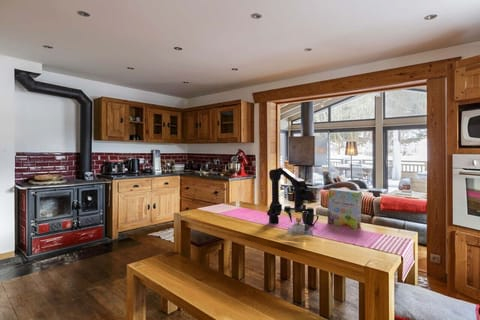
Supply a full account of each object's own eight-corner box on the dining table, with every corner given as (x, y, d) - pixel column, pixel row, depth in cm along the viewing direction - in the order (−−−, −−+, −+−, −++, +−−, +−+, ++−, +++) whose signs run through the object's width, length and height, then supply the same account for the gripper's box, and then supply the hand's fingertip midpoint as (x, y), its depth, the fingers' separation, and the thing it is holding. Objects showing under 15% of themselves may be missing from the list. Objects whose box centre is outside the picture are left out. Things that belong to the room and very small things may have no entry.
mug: (314, 229, 184) (314, 215, 184) (299, 225, 193) (299, 212, 193) (320, 227, 190) (321, 213, 190) (305, 223, 199) (306, 210, 198)
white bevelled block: (292, 232, 173) (292, 224, 173) (292, 229, 180) (292, 221, 180) (308, 233, 171) (308, 225, 170) (307, 230, 178) (307, 222, 178)
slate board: (286, 234, 171) (287, 233, 171) (287, 229, 184) (287, 227, 184) (313, 236, 167) (313, 235, 167) (312, 230, 180) (312, 229, 180)
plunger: (294, 231, 174) (294, 218, 173) (294, 229, 179) (294, 216, 178) (302, 231, 173) (302, 219, 172) (302, 229, 178) (302, 217, 177)
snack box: (326, 223, 199) (327, 189, 199) (331, 221, 206) (332, 188, 205) (357, 229, 186) (358, 192, 185) (361, 226, 192) (362, 190, 192)
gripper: (283, 200, 169) (283, 224, 170) (314, 202, 165) (313, 227, 166) (284, 197, 180) (284, 220, 181) (313, 199, 176) (313, 222, 176)
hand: (298, 222), depth 175 cm, fingers open, 9 cm apart
